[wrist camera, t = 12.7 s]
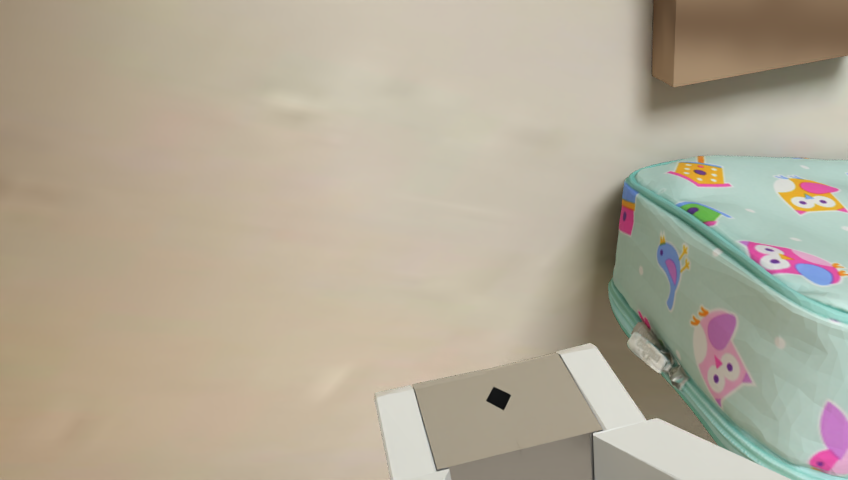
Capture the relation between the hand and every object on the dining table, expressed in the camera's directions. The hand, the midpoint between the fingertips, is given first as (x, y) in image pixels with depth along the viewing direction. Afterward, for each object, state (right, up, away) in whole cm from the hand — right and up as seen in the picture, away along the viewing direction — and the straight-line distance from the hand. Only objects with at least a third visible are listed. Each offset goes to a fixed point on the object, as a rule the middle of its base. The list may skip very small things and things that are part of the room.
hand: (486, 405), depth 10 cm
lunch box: (+21, +3, +38) cm, 43 cm away
